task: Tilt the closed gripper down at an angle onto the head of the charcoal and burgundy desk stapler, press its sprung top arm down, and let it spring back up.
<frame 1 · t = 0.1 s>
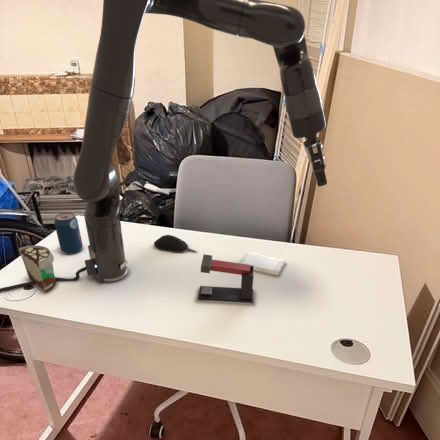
hand: (320, 179, 97), 31 cm above the table, tool tilted 20°, fingers open, 8 cm apart
hard drive: (262, 266, 124), on the table
food container: (47, 282, 114), on the table
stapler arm: (225, 266, 104), point 10 cm above the table, hinge at 5.8°
gaming mouse: (175, 248, 132), on the table
stapler base: (226, 296, 109), on the table
soda can: (72, 250, 130), on the table
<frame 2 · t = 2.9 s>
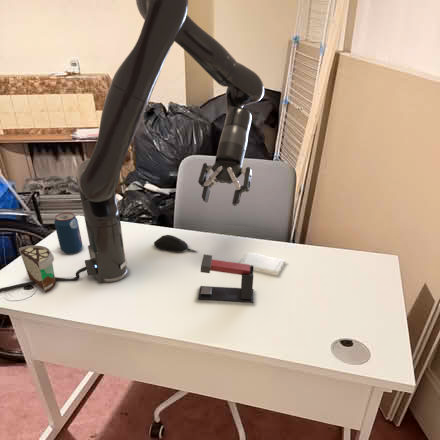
hand: (219, 203, 107), 22 cm above the table, tool tilted 40°, fingers open, 8 cm apart
nothing on the table moved.
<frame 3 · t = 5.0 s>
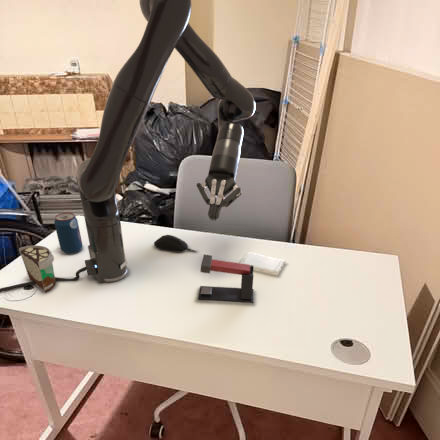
hand: (212, 219, 106), 19 cm above the table, tool tilted 45°, fingers closed
nothing on the table moved.
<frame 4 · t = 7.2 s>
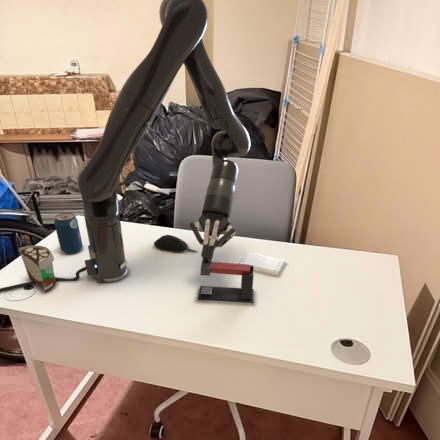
hand: (206, 260, 104), 11 cm above the table, tool tilted 45°, fingers closed
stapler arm: (225, 267, 104), point 9 cm above the table, hinge at 1.6°, touching gripper
everything else where it was.
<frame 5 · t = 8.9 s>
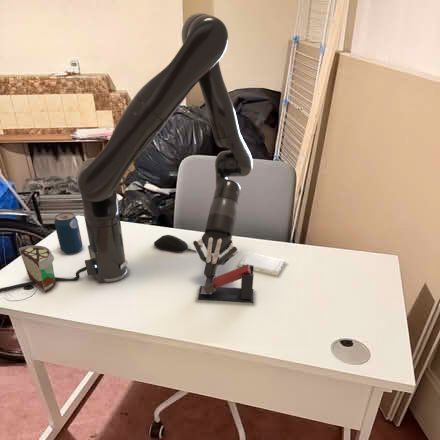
hand: (208, 277, 107), 6 cm above the table, tool tilted 45°, fingers closed
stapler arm: (227, 277, 106), point 6 cm above the table, hinge at -28.4°, touching gripper
everything else where it was.
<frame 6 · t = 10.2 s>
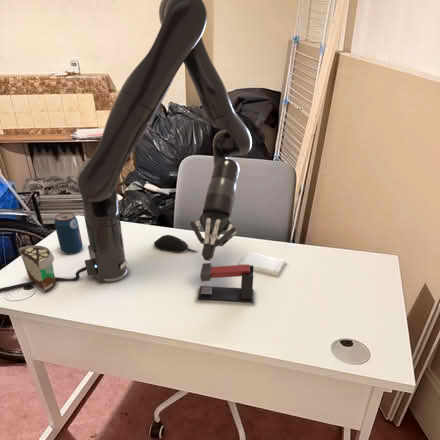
hand: (206, 259, 103), 12 cm above the table, tool tilted 45°, fingers closed
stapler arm: (225, 270, 105), point 8 cm above the table, hinge at -7.6°
everything else where it was.
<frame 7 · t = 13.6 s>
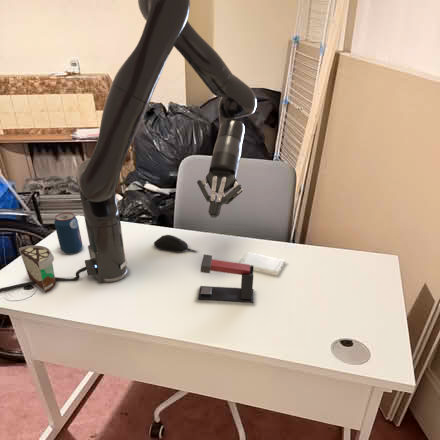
hand: (213, 216, 105), 20 cm above the table, tool tilted 45°, fingers closed
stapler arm: (225, 266, 104), point 10 cm above the table, hinge at 5.9°
everything else where it was.
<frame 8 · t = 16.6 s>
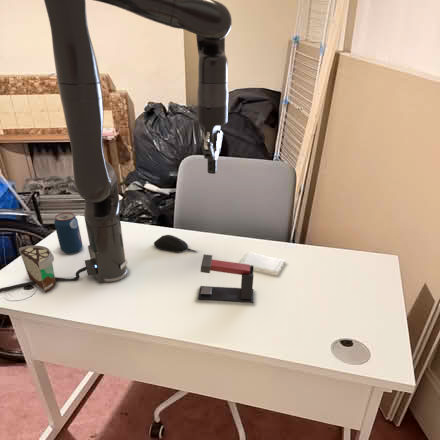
hand: (212, 172, 107), 29 cm above the table, tool pointing down, fingers closed
nothing on the table moved.
at the end: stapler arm reached -28° during the clip, +6° at the end; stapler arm at +6° (first picture: +6°) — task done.
